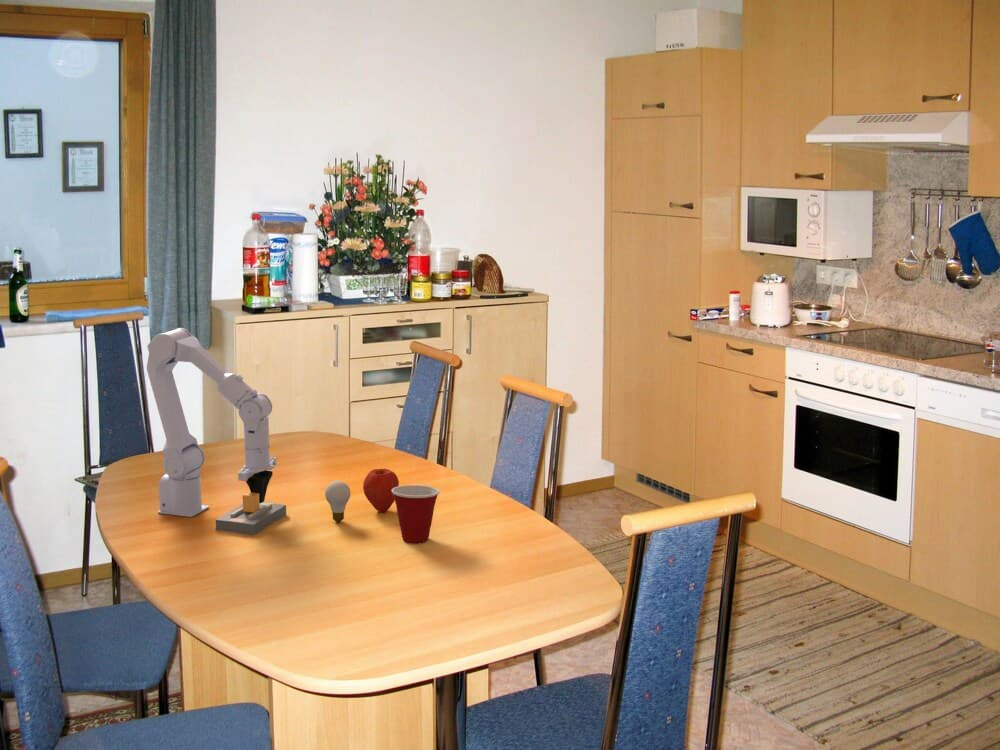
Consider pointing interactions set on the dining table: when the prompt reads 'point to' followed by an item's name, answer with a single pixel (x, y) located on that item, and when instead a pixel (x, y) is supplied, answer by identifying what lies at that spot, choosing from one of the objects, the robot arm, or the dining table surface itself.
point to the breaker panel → (250, 519)
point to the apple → (380, 488)
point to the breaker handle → (251, 502)
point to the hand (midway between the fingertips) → (258, 502)
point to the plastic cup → (415, 511)
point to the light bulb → (337, 498)
